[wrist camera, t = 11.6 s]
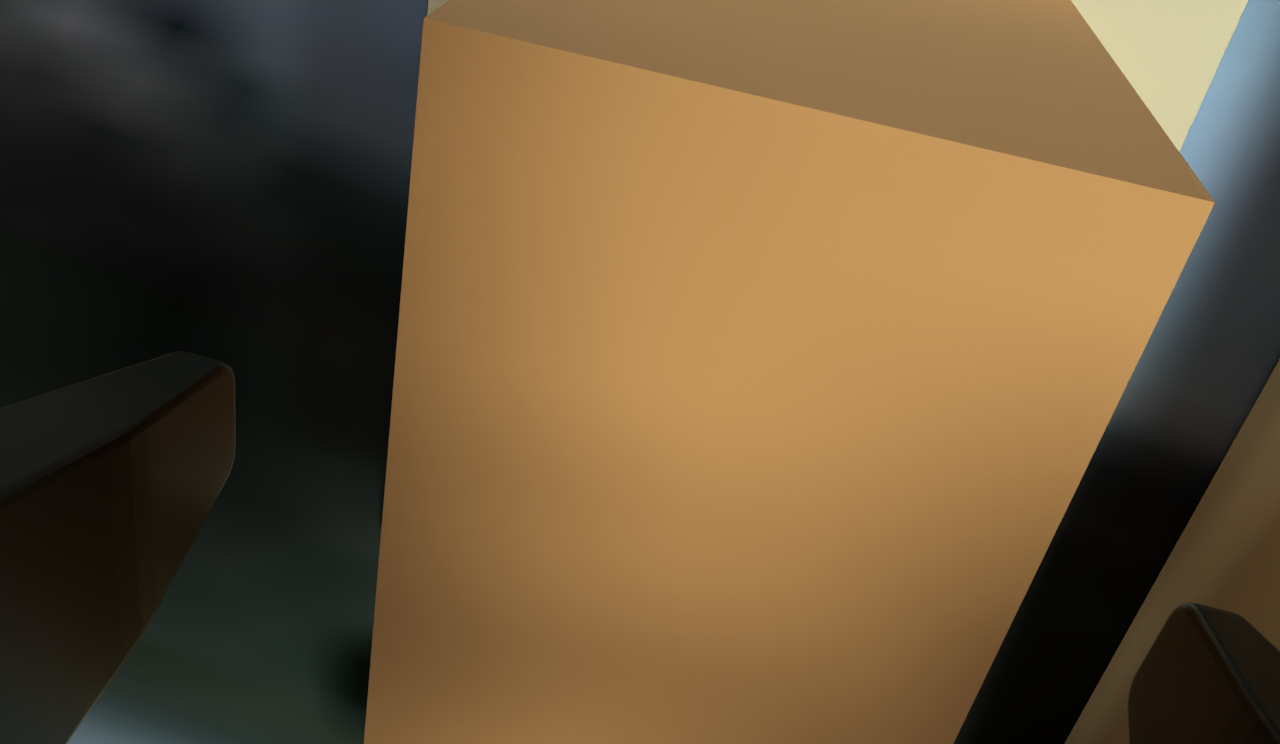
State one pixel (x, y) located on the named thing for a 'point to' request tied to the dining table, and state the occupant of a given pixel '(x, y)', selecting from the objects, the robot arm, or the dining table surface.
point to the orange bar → (750, 360)
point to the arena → (1209, 564)
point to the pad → (1157, 50)
